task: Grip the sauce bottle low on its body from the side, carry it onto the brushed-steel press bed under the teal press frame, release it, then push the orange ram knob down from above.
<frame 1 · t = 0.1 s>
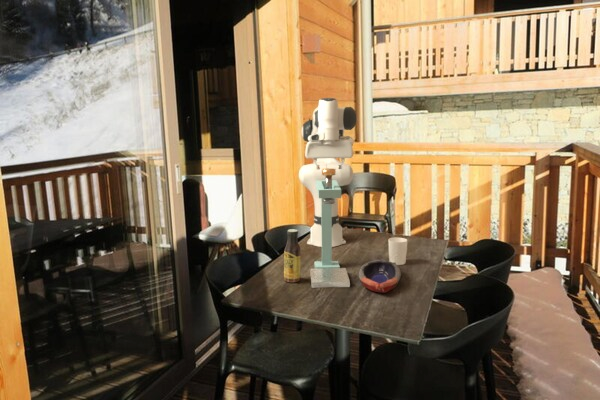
hand: (329, 169, 212), 39 cm above the table, tool pointing down, fingers open, 8 cm apart
ram: (328, 186, 184), point 36 cm above the table, slide at 0.0 cm
press frame: (328, 274, 197), on the table
white cup: (397, 263, 211), on the table
dish: (379, 282, 188), on the table
press bed: (329, 279, 191), on the table
sauce bottle: (292, 281, 191), on the table
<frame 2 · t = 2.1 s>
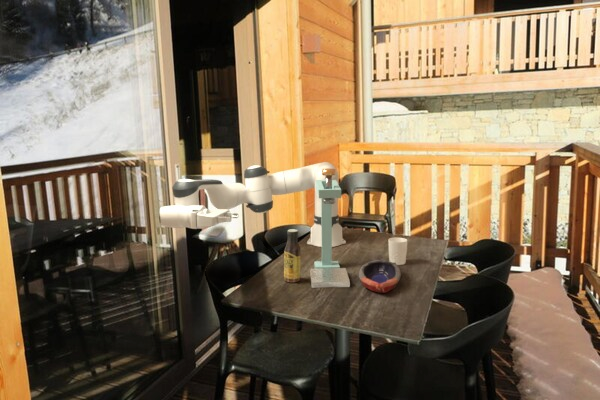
hand: (234, 217, 190), 24 cm above the table, tool horizontal, fingers open, 8 cm apart
nothing on the table moved.
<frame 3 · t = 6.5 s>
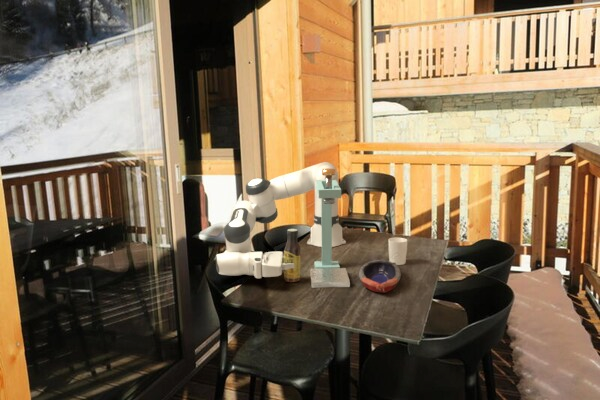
hand: (294, 262, 189), 7 cm above the table, tool horizontal, fingers closed on sauce bottle, 6 cm apart
sauce bottle: (292, 280, 191), on the table, touching gripper
everything else where it was.
when the fingers open (10 cm above the table, at t = 11.6 s): sauce bottle moves 2 cm, resting on press bed.
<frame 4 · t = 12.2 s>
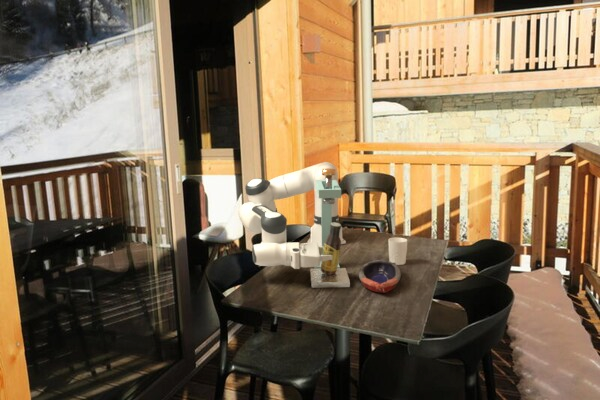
hand: (331, 253, 189), 10 cm above the table, tool horizontal, fingers open, 8 cm apart
sauce bottle: (328, 272, 193), point 2 cm above the table, touching gripper, press bed
everything else where it was.
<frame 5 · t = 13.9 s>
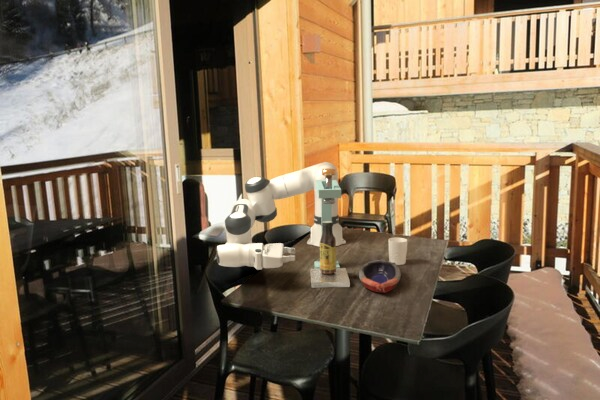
hand: (295, 254, 189), 10 cm above the table, tool horizontal, fingers open, 8 cm apart
sauce bottle: (328, 272, 193), point 2 cm above the table, touching press bed
everything else where it was.
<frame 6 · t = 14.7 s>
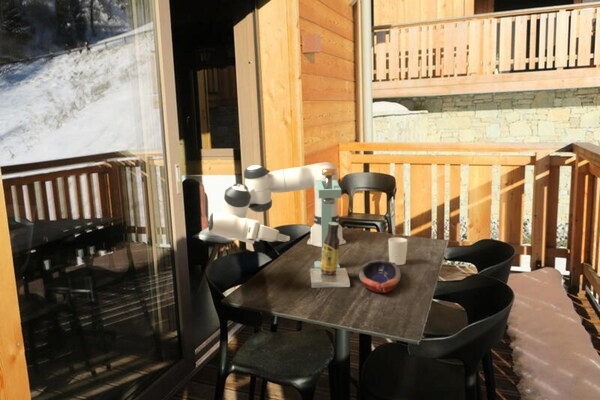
hand: (287, 239, 188), 16 cm above the table, tool tilted 75°, fingers open, 8 cm apart
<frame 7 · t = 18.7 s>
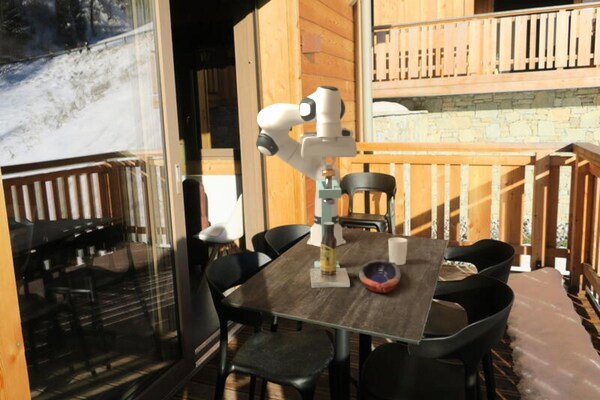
hand: (329, 169, 183), 42 cm above the table, tool pointing down, fingers closed, pressing on ram
ram: (328, 186, 184), point 36 cm above the table, slide at 0.2 cm, touching gripper
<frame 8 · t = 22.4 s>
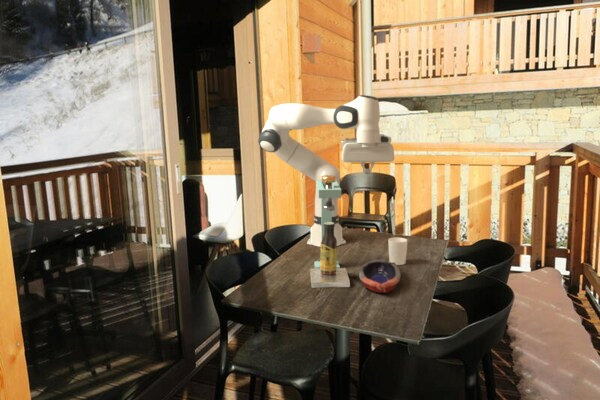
hand: (367, 173, 196), 39 cm above the table, tool pointing down, fingers closed
ram: (328, 193, 185), point 34 cm above the table, slide at 2.6 cm
everything else where it was.
at the end: sauce bottle inside the target area on the press bed (2.2 cm from its centre), point 1.8 cm above the press bed's base; sauce bottle tilted 0°; ram slide at 2.6 cm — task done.
